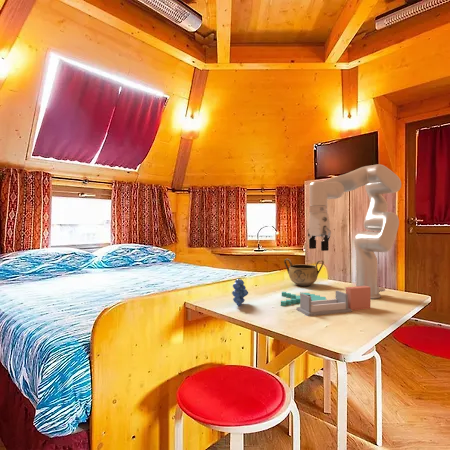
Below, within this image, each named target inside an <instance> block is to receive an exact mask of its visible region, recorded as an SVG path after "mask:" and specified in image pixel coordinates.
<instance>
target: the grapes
mask: <svg viewBox="0 0 450 450" xmlns="http://www.w3.org/2000/svg"><path fill="white" fill-rule="evenodd" d="M244 284H245V282H244V280H242V279H240V278H236V279H235V281H234V283H233V284H232V288H233V290H232V291H231V294H232V297H233V298H232V300H233V302H234V303H235V304H236V305H237V306H238V307H239V306H241V305H242V304H244V302H245V297H246V296H248V295H249V290H248V289H246V285H244Z"/></svg>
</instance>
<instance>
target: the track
mask: <svg viewBox="0 0 450 450" xmlns="http://www.w3.org/2000/svg"><path fill="white" fill-rule="evenodd" d="M303 293H304V292H301V293H299V296H300V303H299V305H300V306H298V307H296V311H298V312H301V314H304V315H306V316H307V317H312V316H321V315H331V314H334V315H335V314H342V313H351V312H353V310H352V309H350V308H348V294H346V292H342V291H340V290H335V298H331V299H329V298H328V299H327V300H317V301H311V297H310V296H308V295H305V294H303Z"/></svg>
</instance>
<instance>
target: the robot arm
mask: <svg viewBox="0 0 450 450" xmlns="http://www.w3.org/2000/svg"><path fill="white" fill-rule="evenodd" d="M363 186H364V188H365V189H364V190H365V192H366V195H367V197H368V200H369V205H368V208H367V210H366V213H365V217H364V220H363V227H364V229H365V230H367V231H359V232H357V233H356V234H355V236H354V239H353V245H354V248H355V256H356V257H355V260H356V261H355V265H356V266H355V271H356V272H355V287H356V286H368V287H371V299H375V300H376V299H380V298H381V297H382V294H381V293H380V292H385V291H386V288H385V287H384V286H383V287H380V286H378V258H377V255H376V254H375V252H376V253H388V252H389V251H391V250H392V248H393V246H394V242H395V239H396V237H397V233H398V230H399V227H400V219H399V216H398V215H397V214H396V213H395V212H393V211H388V208H389V207H388V206H389V204H388V202H387V200H386V198H385V197H384V196H383V195H385V194H395V193H397V192H399V191H400V189H401V188H402V181H401V179H400V176H398V175H397V174H396V173H395V172H394V171H392V170H391V169H390V168H388V167H387V166H385V165H384V164H380V163H378V164H377V163H376V164H373V165H372V164H371V165H365V166H361V167H359V168H356V169H355V170H351V171H349V172H347V173H344V174H340V175H338V176H334V177H332V178H329V179H325V180H323V181H320V180H319V181H312V182H310V184H309V186H308V187H309V190H308V191H309V192H308V193H309V198H308V199H309V200H308V201H309V204H308V205H309V210H308V211H309V213H308V214H309V220H308V229H307V230H306V232H307V236H308V248H309V250H312V249H313V250H314V249H317V239H316V238H317V237H320V239H321V241H320V250H321V251H322V252H323V251H324V252H326V251H327V252H328V251H329V242H330V237H331V234H332V231H331V229H330V227H331V226H330V225H331V224H330V218H329V217H330V216H329V213H328V200H336V199H340V198H342V197H343V195H344V193H348V192H351V191H355V190H357V189H359V188H362V187H363Z"/></svg>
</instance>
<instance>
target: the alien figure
mask: <svg viewBox="0 0 450 450" xmlns="http://www.w3.org/2000/svg"><path fill="white" fill-rule="evenodd" d="M300 293H303V294H305V295H308V296H310V297H311V301H317V300H328V299H327V298H326V296H321V295H320V294H319V295H318V294H315V293H310V292H300ZM300 293H299V294H300ZM281 297H286V298H288V299H285V300H280V306H281V307H286V306H291V305H296V304H300V295H297V294H293V293H291V292H287V291H281ZM289 298H290V299H289Z"/></svg>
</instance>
